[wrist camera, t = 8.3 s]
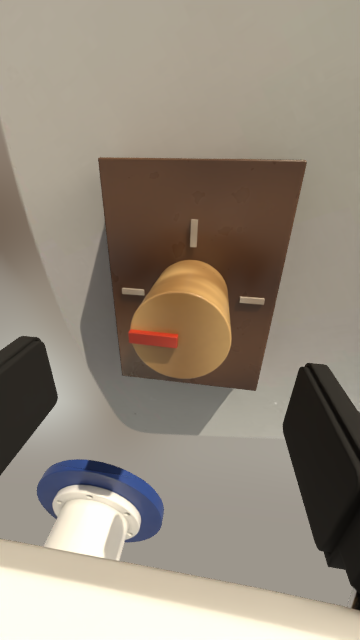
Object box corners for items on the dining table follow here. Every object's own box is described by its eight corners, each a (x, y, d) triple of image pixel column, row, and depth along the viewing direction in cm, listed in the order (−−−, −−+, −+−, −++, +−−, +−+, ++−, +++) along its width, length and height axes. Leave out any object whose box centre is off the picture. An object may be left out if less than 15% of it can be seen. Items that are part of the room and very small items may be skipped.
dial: (232, 262, 14) (239, 299, 9) (223, 330, 16) (224, 389, 11) (155, 256, 14) (123, 289, 10) (155, 323, 16) (130, 377, 12)
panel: (251, 365, 20) (256, 393, 18) (133, 353, 22) (121, 377, 19) (291, 165, 14) (308, 159, 11) (118, 162, 15) (95, 156, 12)
